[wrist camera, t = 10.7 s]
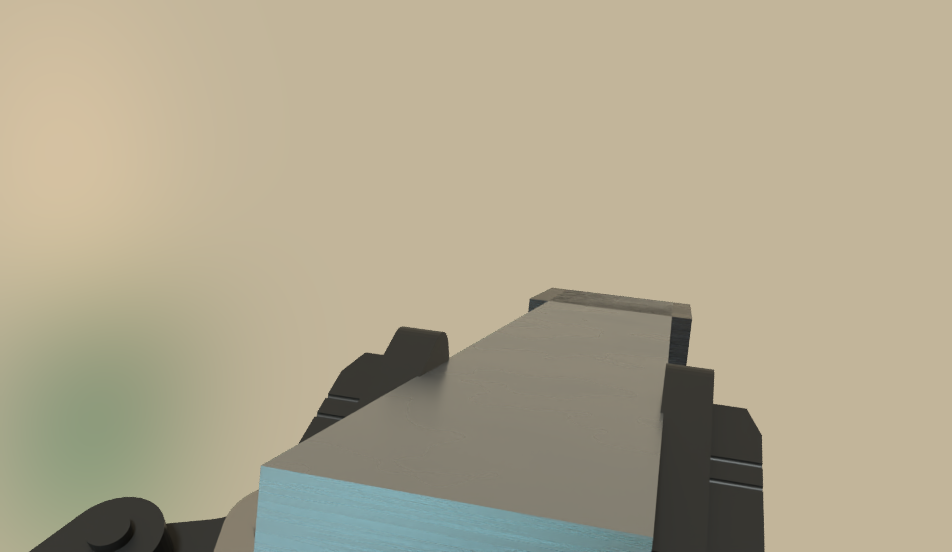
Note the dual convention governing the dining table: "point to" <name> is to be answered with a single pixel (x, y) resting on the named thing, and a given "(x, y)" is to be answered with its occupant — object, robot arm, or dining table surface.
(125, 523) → the robot arm
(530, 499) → the gray block
